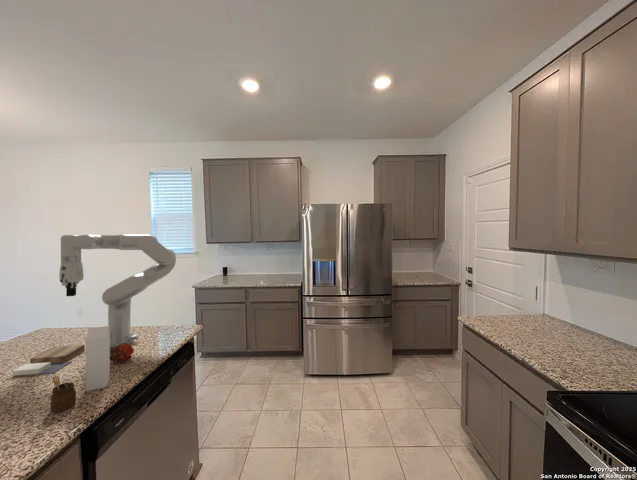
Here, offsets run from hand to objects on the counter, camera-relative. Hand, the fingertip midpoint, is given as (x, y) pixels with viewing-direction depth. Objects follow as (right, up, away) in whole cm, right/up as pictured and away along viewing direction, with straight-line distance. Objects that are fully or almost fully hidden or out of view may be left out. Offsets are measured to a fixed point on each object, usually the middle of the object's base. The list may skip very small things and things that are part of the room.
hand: (71, 295), depth 132 cm
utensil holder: (+40, -27, -46) cm, 67 cm away
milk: (+41, -27, -32) cm, 59 cm away
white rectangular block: (+5, -25, -22) cm, 34 cm away
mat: (+9, -27, -20) cm, 35 cm away
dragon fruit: (+35, -27, -12) cm, 46 cm away
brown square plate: (+3, -27, -9) cm, 29 cm away
